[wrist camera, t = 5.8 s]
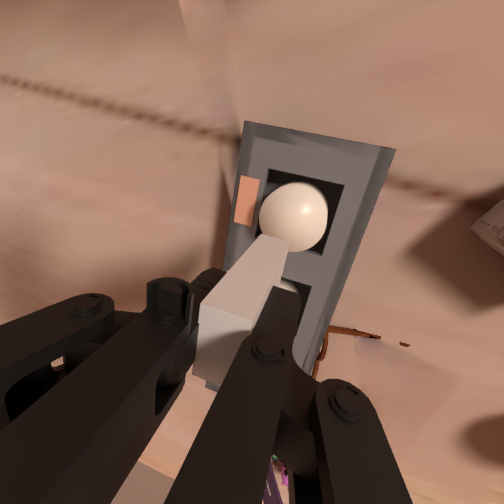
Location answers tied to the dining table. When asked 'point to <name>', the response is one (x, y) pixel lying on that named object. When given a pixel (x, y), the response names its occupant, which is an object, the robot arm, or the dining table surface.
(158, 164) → the dining table surface
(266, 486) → the purple toy box
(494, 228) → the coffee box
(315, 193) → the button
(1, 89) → the dining table surface
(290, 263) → the console
